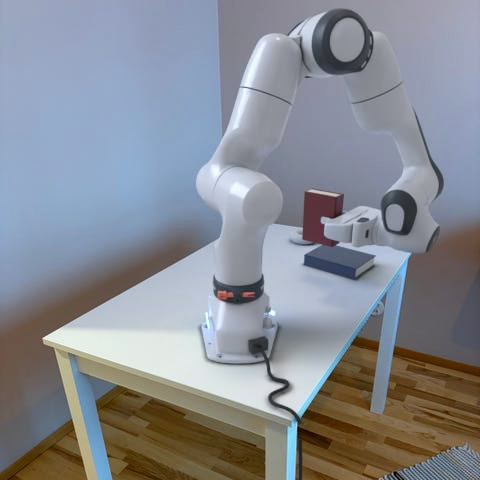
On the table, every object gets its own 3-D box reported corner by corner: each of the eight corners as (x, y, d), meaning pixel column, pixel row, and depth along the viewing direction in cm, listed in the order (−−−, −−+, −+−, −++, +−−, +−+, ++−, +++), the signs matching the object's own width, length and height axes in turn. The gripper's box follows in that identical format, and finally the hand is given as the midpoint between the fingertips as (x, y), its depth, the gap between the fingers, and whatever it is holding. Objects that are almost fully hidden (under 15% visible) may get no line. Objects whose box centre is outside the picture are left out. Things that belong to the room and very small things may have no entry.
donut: (288, 236, 171) (290, 245, 162) (289, 227, 169) (290, 236, 161) (316, 236, 171) (319, 245, 162) (316, 227, 169) (319, 236, 160)
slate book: (354, 279, 138) (355, 268, 136) (303, 264, 148) (304, 254, 146) (374, 265, 147) (375, 255, 145) (325, 252, 157) (325, 242, 155)
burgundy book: (332, 247, 129) (336, 197, 122) (302, 239, 135) (304, 191, 128) (339, 243, 132) (344, 193, 125) (309, 235, 137) (312, 188, 130)
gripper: (392, 205, 126) (346, 197, 134) (356, 225, 112) (308, 214, 120) (389, 227, 129) (344, 218, 137) (353, 249, 116) (306, 238, 123)
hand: (327, 216), depth 128 cm, fingers closed on burgundy book, 4 cm apart
